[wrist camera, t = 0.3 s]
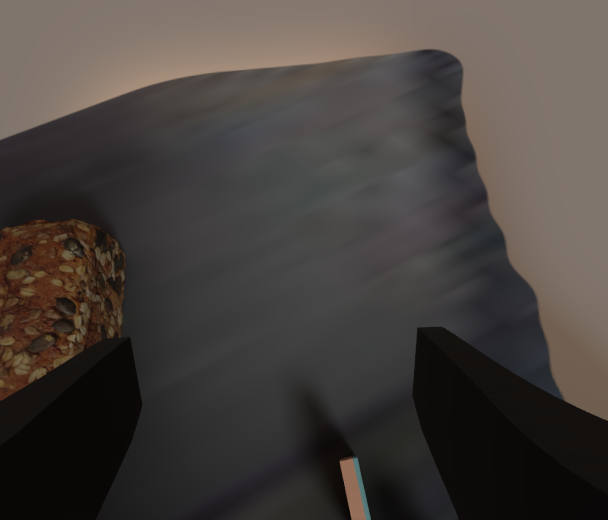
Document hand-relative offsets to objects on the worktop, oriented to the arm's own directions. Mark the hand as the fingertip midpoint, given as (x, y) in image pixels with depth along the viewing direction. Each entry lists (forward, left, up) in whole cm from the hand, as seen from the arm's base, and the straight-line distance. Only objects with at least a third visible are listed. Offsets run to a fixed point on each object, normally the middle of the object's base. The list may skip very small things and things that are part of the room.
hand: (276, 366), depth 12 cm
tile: (-6, -1, -29) cm, 30 cm away
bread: (+11, +22, -29) cm, 38 cm away
